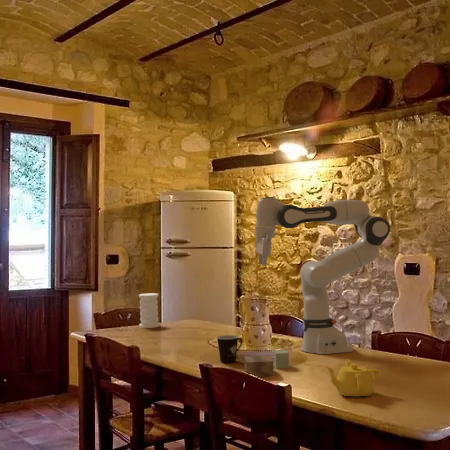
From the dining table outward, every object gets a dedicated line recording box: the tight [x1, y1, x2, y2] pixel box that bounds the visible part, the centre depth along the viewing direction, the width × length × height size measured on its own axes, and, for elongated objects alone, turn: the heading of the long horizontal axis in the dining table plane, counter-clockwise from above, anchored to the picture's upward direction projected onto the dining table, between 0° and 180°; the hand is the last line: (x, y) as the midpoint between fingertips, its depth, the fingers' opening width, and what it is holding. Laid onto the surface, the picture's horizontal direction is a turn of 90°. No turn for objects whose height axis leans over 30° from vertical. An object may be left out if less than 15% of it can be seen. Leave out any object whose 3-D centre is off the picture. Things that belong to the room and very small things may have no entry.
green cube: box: [273, 349, 290, 369], centre depth 237 cm, size 5×5×6 cm
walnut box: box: [243, 354, 274, 378], centre depth 227 cm, size 10×10×6 cm
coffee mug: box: [216, 334, 243, 364], centre depth 248 cm, size 12×9×10 cm
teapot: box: [325, 358, 380, 397], centre depth 198 cm, size 14×13×10 cm
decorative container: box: [138, 292, 161, 329], centre depth 336 cm, size 12×12×18 cm
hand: (262, 264), depth 263 cm, fingers open, 8 cm apart
